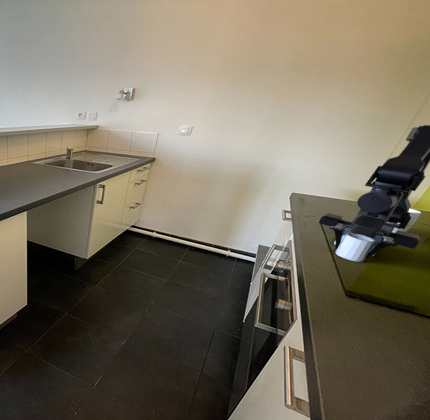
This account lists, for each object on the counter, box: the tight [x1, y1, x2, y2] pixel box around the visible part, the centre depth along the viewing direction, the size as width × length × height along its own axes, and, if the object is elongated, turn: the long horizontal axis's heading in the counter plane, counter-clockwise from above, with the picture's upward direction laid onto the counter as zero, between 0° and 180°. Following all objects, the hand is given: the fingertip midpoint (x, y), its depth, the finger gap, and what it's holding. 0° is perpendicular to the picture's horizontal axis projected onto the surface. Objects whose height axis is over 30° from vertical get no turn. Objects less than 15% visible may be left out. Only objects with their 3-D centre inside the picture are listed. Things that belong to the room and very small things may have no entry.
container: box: [333, 227, 382, 257], centre depth 83 cm, size 9×9×5 cm
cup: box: [334, 233, 376, 263], centre depth 76 cm, size 6×6×7 cm
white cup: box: [392, 208, 422, 233], centre depth 95 cm, size 8×8×10 cm
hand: (350, 253), depth 77 cm, fingers closed on cup, 6 cm apart
